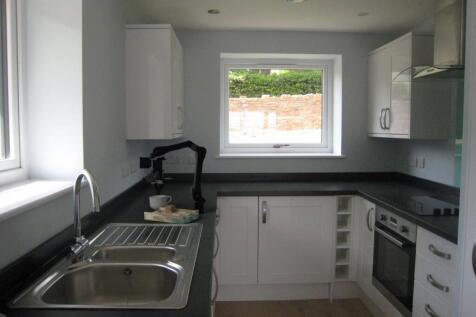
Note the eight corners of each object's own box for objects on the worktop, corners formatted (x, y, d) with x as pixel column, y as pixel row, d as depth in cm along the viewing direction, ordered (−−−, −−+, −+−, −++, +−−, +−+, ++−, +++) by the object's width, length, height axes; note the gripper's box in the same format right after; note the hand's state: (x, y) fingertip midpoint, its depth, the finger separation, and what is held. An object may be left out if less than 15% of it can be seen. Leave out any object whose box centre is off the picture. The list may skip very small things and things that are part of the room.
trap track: (160, 213, 222) (160, 206, 221) (198, 217, 211) (198, 209, 211) (144, 219, 208) (144, 211, 208) (184, 224, 197) (184, 215, 197)
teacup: (149, 211, 229) (149, 198, 228) (149, 207, 240) (148, 195, 239) (172, 209, 233) (172, 196, 232) (171, 206, 243) (171, 193, 243)
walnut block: (169, 211, 216) (169, 204, 216) (175, 212, 214) (175, 205, 214) (165, 213, 212) (165, 206, 212) (171, 213, 211) (171, 206, 210)
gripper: (135, 168, 211) (136, 196, 212) (162, 170, 203) (163, 198, 205) (147, 167, 221) (148, 193, 223) (174, 168, 214) (174, 195, 215)
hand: (158, 195), depth 216 cm, fingers closed
